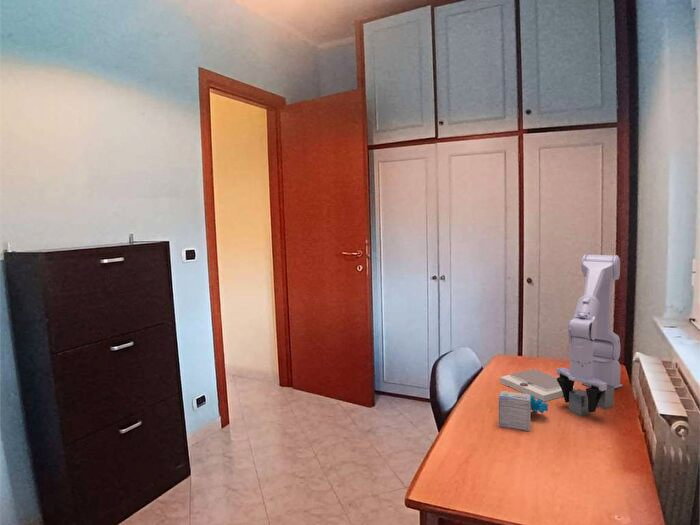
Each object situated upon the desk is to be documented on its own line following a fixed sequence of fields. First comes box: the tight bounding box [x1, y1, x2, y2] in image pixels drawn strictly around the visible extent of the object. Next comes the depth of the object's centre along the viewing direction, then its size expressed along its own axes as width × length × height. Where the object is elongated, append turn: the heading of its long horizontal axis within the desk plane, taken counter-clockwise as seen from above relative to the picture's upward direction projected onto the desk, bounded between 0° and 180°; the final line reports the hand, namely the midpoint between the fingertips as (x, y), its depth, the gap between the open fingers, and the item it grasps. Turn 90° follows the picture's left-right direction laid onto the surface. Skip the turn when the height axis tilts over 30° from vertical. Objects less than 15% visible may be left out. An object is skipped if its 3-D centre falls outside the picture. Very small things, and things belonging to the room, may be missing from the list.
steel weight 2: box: [597, 384, 615, 410], centre depth 134 cm, size 4×4×6 cm
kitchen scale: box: [499, 368, 576, 403], centre depth 149 cm, size 14×18×3 cm
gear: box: [521, 392, 549, 414], centre depth 128 cm, size 11×6×10 cm
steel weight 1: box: [568, 388, 592, 418], centre depth 130 cm, size 4×4×6 cm
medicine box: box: [498, 390, 532, 432], centre depth 123 cm, size 8×4×9 cm, turn 65°
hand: (579, 406), depth 130 cm, fingers open, 7 cm apart
